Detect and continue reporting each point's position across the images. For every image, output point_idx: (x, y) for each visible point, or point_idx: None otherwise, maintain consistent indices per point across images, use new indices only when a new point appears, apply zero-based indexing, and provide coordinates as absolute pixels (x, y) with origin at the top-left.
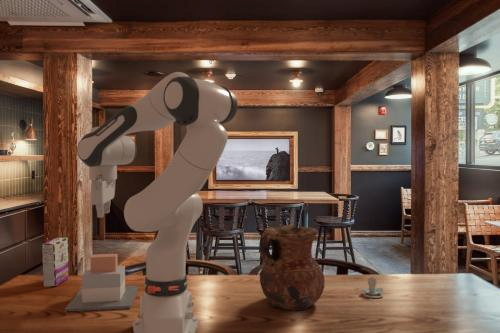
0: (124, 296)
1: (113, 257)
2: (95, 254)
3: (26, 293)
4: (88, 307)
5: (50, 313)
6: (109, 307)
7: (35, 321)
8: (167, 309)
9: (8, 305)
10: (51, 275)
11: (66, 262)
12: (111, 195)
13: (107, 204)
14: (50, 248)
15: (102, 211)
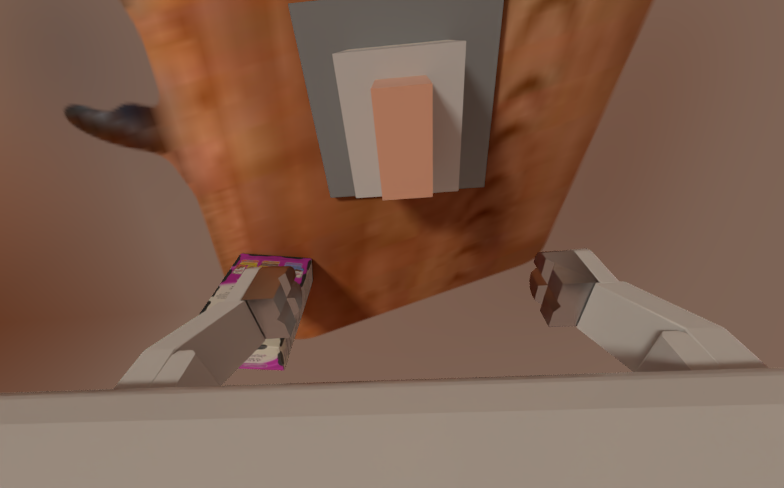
0: (409, 34)
1: (432, 93)
2: (383, 191)
3: (352, 293)
4: (487, 130)
5: (481, 210)
6: (496, 64)
7: (520, 222)
8: None
9: (419, 295)
10: (305, 284)
11: (234, 284)
12: (118, 478)
13: (211, 351)
14: (286, 343)
15: (637, 289)
